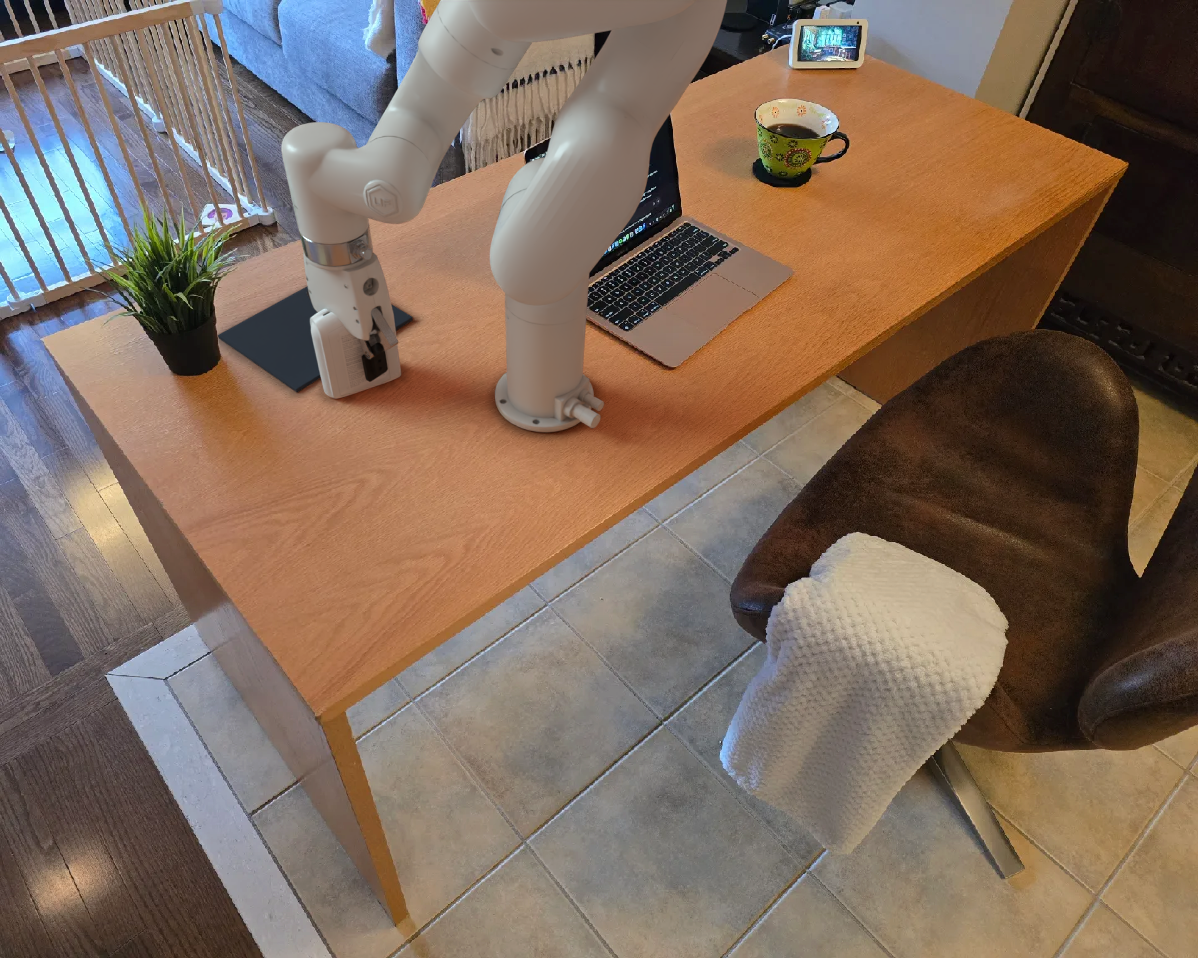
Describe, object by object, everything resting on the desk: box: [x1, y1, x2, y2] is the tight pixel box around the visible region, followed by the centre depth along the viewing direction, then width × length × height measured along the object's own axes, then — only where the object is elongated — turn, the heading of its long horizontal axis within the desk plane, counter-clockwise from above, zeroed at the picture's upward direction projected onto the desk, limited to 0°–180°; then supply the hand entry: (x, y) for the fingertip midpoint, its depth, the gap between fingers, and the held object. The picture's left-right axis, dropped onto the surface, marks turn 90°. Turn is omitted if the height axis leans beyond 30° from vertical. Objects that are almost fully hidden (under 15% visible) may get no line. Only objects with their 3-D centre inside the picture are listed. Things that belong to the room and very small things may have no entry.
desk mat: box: [217, 285, 414, 393], centre depth 119 cm, size 16×20×1 cm
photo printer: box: [310, 309, 402, 399], centre depth 108 cm, size 10×4×12 cm, turn 124°
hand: (360, 363), depth 110 cm, fingers closed on photo printer, 5 cm apart
